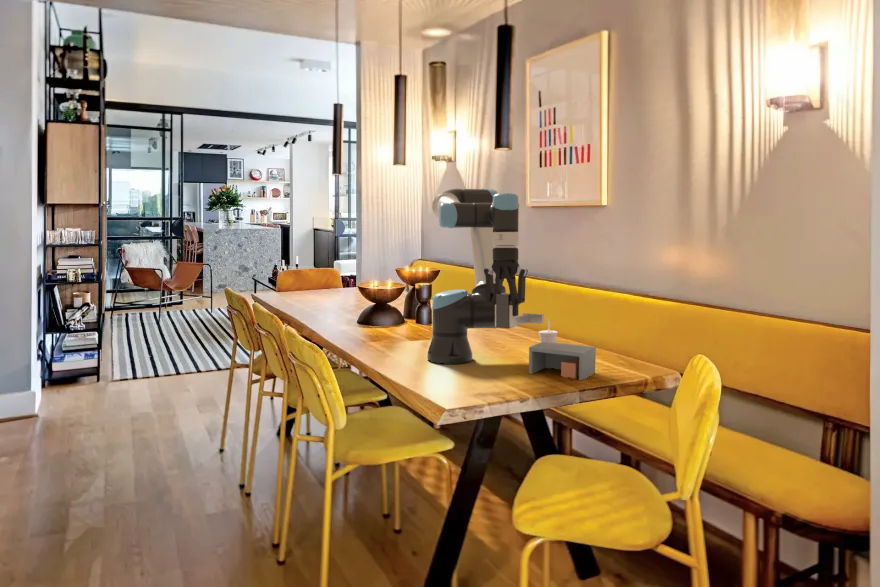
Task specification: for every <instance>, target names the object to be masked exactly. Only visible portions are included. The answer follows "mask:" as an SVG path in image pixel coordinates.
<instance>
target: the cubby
mask: <svg viewBox="0 0 880 587" xmlns="http://www.w3.org/2000/svg"><path fill="white" fill-rule="evenodd" d="M596 353H597V347H596V346H591V345H581V344H580V345H579V344H572V343H571V344H570V343H561V342H556V343H554V342H541V343H540V342H539V343H536V344H533V345H531V346H529V347H528V374H529V375H530V374H531V375H532V374H534V373H537V372H539V371H541V370H543V369H551V368H554V369H553V370H559V369H561V362H562V361H565V360H567V359H568V360H577V361H579V377H578V381H581V380H582V381H584V380H586V379H588V378H589V376H590V375H591V376H593V375H595V374H596V362H597V361H596V358H597V357H596V356H597V354H596ZM594 373H595V374H594ZM592 374H593V375H592ZM591 376H590V377H591ZM587 377H588V378H587ZM585 378H586V379H585ZM583 379H584V380H583Z"/></svg>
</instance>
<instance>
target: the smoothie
mask: <svg viewBox="0 0 880 587" xmlns="http://www.w3.org/2000/svg"><path fill="white" fill-rule="evenodd" d="M547 319H548V320H547V324H548V325H547V329H546V330H545V329H544V330H543V329H542V330H539V331H538V335H539V341H540V342H539V343H541V342H554V343H557V337H558V336H559V334H558V333H559V332H558V331H556V330H551V328H550V327H551V319H550V318H547Z"/></svg>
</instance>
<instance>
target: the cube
mask: <svg viewBox="0 0 880 587" xmlns="http://www.w3.org/2000/svg"><path fill="white" fill-rule="evenodd" d="M560 371H561V372H560V377H561V376H564V377H563V378H568V377H572V378H571V379H577V378H579V377H578V376H579V361H577V360H568V359H567V360H565V361H562V362H561V370H560ZM576 377H577V378H576Z"/></svg>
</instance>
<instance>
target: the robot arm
mask: <svg viewBox="0 0 880 587" xmlns="http://www.w3.org/2000/svg"><path fill="white" fill-rule="evenodd" d="M519 209H520V203H519V196H518V194H516V193H511V192H510V193H508V192H507V193H506V192H505V193H498V191H497V190H495V189H493V188H491V189H490V188H451V189H448V190H445V191H442V192H440V193H439V194H437V195H436V196H435V197H434V200H433V201H432V211H433V214H434V215H435V216H436V217H437V218H438V223H439V227H441V228H447V229H458V228H459V229H460V228H467V229H469V230H470V238H471V247H472V248H471V250H472V260H473V271H474V282H475V283H474V284H475V286H474V287H473V288H472V289H471V293H468V290H467V289H463V288H462V289H451V290H444V291H440V292H437V293H436V294H434V295H433V297H432V306H431V309H432V337H431V338H432V339H431V341H430V344H429V347H428V350H427V359H428V360H430V361H432V362H431V363H433V362H436V363H435V364H440V363H444V364H443V365H457V364H458V365H459V364H466V362H467V363H469V362H472V361H473V351H472V348H471V345H470V341H469V339H468V329H497V328H496V294H499V293H507V290H506V285H504V281H505V280H506V282H507V284H508V285H507V286H508V291H509V293H510V296H511V302H512V304H511V305H509V329H512V328H516V327H517V326H516V316H518V315H519V306H520V304H523V303H525V302H526V301H525V300H526V278H527V276H528V271H529V270H528V269H527V268H523V267H521V266H520V264H519V247H517V246H519V243H520V242H519V215H520V214H519V212H520V211H519ZM516 274H517V275H518V277H517V279H516ZM516 280H517V281H516ZM428 360H427V361H428ZM430 361H429V362H430Z"/></svg>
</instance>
